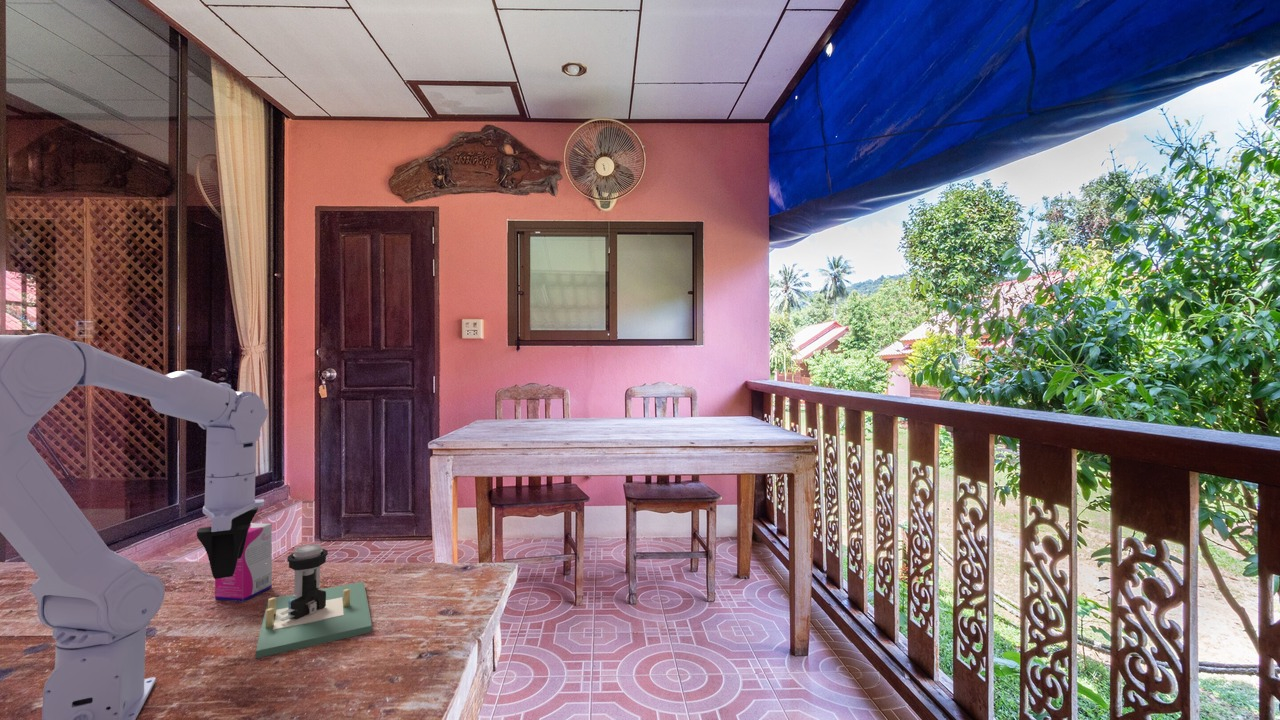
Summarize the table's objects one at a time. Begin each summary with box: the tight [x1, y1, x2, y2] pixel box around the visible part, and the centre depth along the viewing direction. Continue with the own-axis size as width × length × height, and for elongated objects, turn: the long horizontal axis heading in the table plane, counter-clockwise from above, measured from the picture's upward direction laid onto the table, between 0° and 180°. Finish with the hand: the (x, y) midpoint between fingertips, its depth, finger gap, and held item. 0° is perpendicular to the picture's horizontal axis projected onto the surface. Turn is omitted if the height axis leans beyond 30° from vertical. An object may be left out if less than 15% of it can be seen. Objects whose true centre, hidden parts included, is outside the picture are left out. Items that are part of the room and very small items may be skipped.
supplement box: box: [214, 522, 273, 603], centre depth 89 cm, size 6×6×12 cm
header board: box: [255, 581, 373, 659], centre depth 81 cm, size 18×14×4 cm
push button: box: [280, 543, 329, 621], centre depth 80 cm, size 7×5×10 cm
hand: (228, 567), depth 75 cm, fingers open, 7 cm apart
